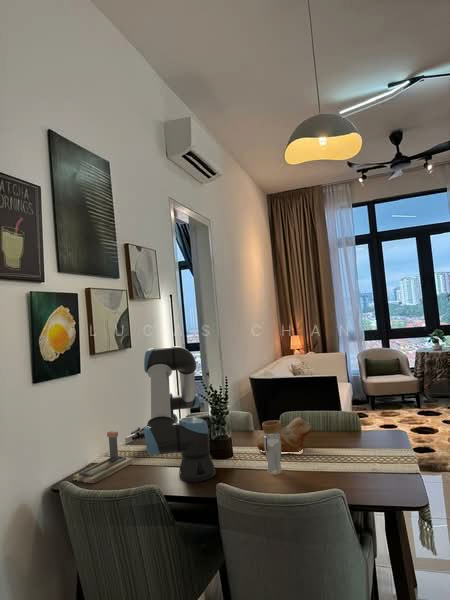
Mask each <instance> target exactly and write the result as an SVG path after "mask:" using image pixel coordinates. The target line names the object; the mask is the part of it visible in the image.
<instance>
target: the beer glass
mask: <svg viewBox="0 0 450 600" xmlns="http://www.w3.org/2000/svg"><path fill="white" fill-rule="evenodd" d="M264 448H265V453H264V454H265V458H266V462H267V471H268V472H270V473H278V472H280V471H282V472H283V469H282V465H281V464H282V463H281V461H282V455H281V440H280V435H279V434H274V433H272V434H266V435H265V436H264Z"/></svg>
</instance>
